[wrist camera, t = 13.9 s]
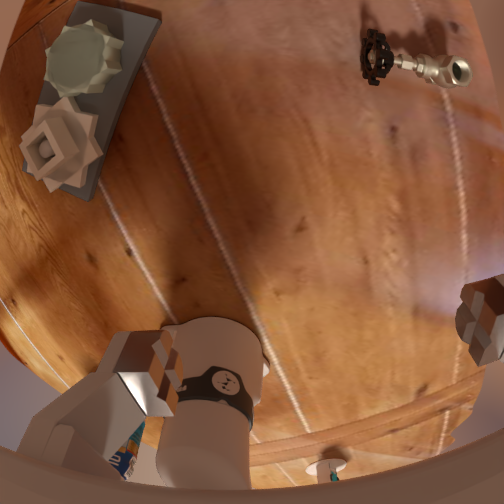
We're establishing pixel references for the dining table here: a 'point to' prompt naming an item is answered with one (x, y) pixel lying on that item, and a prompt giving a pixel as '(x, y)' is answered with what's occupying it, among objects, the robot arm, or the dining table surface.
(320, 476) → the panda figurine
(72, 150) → the gear
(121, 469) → the beverage bottle
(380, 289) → the dining table surface
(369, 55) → the valve
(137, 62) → the board
